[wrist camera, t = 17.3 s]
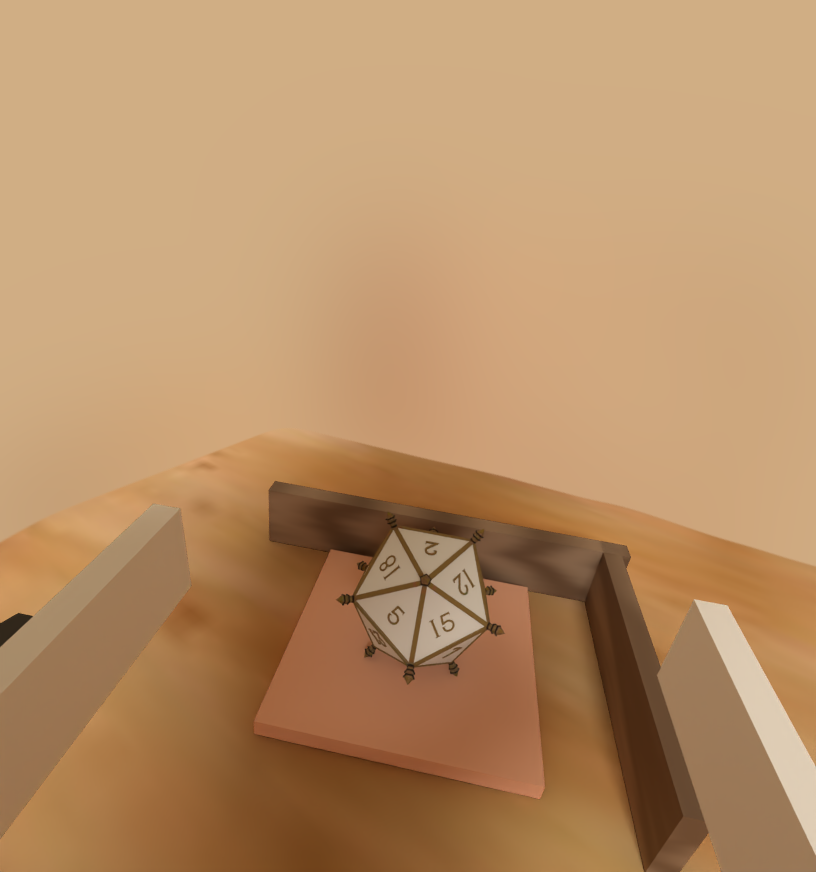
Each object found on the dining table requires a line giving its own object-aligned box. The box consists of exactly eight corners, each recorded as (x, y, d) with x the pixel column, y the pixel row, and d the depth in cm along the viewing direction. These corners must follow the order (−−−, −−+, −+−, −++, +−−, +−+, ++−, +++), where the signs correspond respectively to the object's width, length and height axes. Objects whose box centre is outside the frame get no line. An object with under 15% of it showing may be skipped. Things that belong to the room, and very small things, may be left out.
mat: (524, 597, 35) (527, 587, 35) (539, 798, 23) (544, 787, 23) (330, 559, 36) (330, 549, 36) (254, 733, 25) (253, 721, 24)
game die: (376, 677, 31) (313, 530, 31) (495, 615, 33) (437, 475, 32) (401, 766, 22) (314, 563, 22) (562, 676, 24) (484, 485, 24)
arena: (607, 594, 36) (626, 545, 34) (688, 883, 21) (732, 827, 19) (275, 530, 38) (275, 481, 36) (135, 752, 23) (120, 689, 21)
